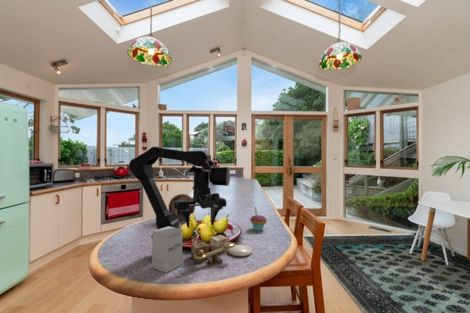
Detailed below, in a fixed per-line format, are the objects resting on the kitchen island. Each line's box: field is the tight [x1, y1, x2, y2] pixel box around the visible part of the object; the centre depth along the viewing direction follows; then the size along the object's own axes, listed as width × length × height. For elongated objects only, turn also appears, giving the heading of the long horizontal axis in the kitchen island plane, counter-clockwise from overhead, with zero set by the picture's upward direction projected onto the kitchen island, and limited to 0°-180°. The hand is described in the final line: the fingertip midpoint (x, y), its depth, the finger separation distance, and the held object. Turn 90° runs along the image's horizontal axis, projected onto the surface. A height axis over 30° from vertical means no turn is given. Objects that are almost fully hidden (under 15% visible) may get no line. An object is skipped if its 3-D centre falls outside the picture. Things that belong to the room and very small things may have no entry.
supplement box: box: [151, 226, 184, 273], centre depth 86 cm, size 7×7×13 cm
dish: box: [227, 244, 253, 257], centre depth 99 cm, size 10×10×1 cm
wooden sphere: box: [168, 193, 196, 221], centre depth 146 cm, size 15×15×15 cm
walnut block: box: [190, 241, 210, 262], centre depth 94 cm, size 5×5×5 cm
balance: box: [194, 241, 236, 266], centre depth 90 cm, size 16×4×6 cm, turn 118°
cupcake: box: [249, 206, 268, 231], centre depth 131 cm, size 9×8×12 cm
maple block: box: [209, 234, 229, 254], centre depth 102 cm, size 5×5×5 cm
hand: (200, 226), depth 94 cm, fingers open, 9 cm apart
